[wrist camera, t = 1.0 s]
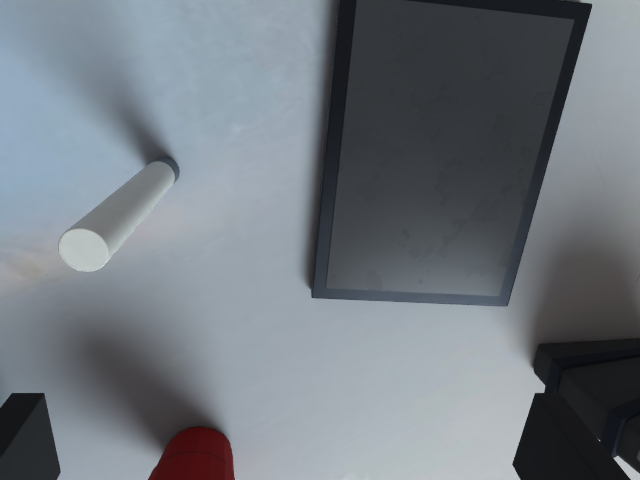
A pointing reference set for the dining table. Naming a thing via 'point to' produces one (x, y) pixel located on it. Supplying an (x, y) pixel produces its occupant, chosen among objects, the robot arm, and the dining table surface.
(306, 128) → the dining table surface
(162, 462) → the plastic cup
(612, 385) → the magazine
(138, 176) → the stylus
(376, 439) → the dining table surface
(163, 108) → the dining table surface
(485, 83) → the tablet
